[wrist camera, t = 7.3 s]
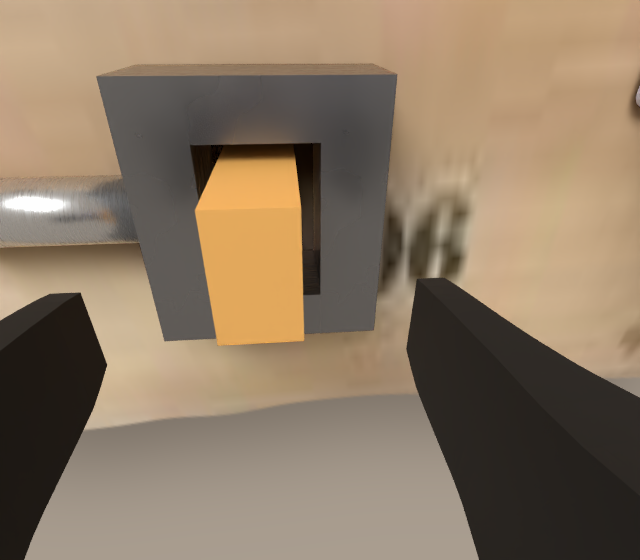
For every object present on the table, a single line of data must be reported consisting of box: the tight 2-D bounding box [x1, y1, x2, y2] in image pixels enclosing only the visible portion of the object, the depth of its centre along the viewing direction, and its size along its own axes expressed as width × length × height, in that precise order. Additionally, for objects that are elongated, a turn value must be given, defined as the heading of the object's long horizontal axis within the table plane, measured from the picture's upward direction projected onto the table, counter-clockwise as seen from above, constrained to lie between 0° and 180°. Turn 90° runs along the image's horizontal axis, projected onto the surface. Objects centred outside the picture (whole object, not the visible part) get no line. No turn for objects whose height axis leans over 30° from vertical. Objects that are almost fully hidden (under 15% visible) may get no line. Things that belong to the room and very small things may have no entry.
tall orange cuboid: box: [195, 143, 304, 346], centre depth 13 cm, size 2×4×7 cm, turn 0°
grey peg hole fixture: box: [0, 64, 397, 341], centre depth 15 cm, size 16×9×4 cm, turn 90°
